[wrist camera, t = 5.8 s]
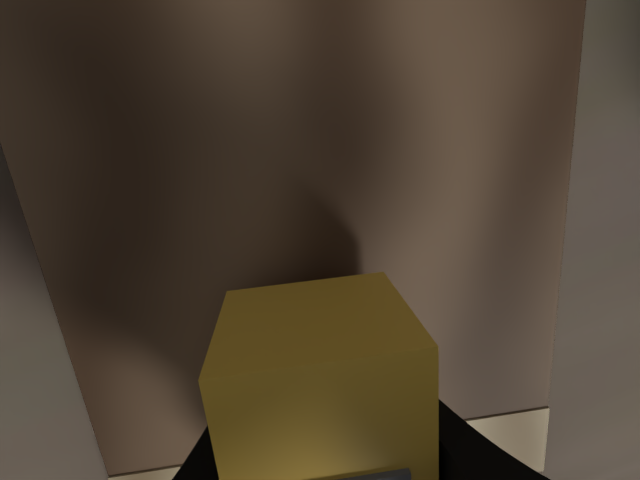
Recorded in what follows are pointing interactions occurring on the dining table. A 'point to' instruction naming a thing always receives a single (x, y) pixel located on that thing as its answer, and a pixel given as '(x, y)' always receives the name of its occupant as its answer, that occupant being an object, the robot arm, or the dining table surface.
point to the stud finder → (322, 384)
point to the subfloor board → (292, 187)
